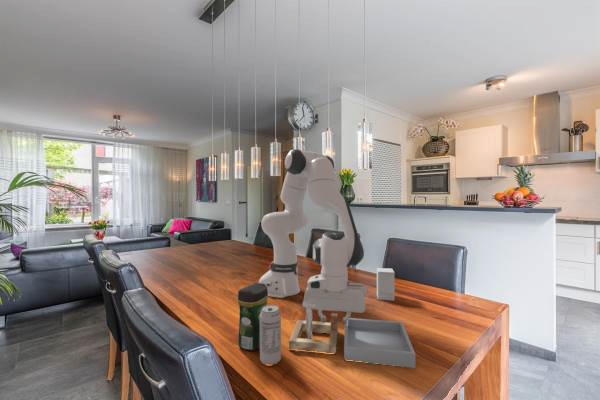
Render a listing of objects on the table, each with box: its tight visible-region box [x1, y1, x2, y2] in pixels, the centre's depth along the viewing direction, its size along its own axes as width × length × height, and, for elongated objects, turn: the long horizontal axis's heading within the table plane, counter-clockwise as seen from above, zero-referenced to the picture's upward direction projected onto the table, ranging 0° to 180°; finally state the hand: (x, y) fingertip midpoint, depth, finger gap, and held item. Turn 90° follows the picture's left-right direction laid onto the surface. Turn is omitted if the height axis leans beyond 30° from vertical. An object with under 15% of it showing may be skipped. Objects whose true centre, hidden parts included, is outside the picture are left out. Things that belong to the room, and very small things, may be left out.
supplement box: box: [376, 267, 396, 302], centre depth 126 cm, size 7×7×13 cm
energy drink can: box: [259, 304, 282, 364], centre depth 78 cm, size 6×6×15 cm
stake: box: [302, 301, 316, 339], centre depth 86 cm, size 4×2×13 cm, turn 80°
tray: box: [343, 317, 416, 369], centre depth 85 cm, size 19×19×4 cm
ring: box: [288, 312, 339, 354], centre depth 89 cm, size 14×14×7 cm
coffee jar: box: [237, 281, 269, 351], centre depth 87 cm, size 10×8×19 cm
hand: (334, 323), depth 91 cm, fingers open, 6 cm apart
